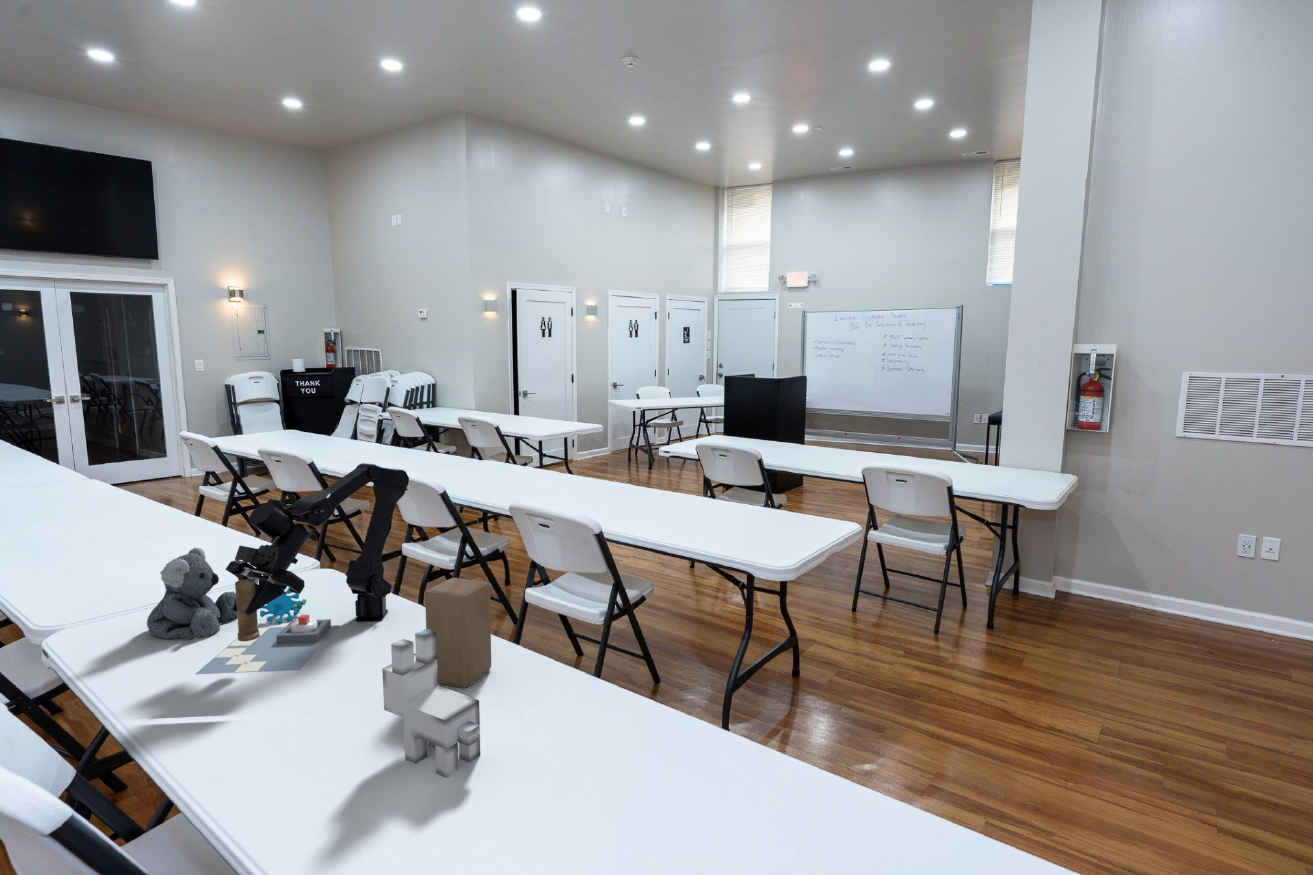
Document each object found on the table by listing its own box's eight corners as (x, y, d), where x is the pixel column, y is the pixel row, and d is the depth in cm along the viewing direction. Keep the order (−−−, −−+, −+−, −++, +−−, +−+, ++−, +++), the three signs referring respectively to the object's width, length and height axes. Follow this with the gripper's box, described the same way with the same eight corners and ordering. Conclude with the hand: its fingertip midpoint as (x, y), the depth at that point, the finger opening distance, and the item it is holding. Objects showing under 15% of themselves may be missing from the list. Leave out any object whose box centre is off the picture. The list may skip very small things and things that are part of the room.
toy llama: (458, 783, 109) (455, 665, 107) (385, 750, 118) (381, 640, 116) (491, 759, 116) (489, 647, 113) (420, 729, 124) (416, 625, 122)
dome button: (321, 628, 166) (320, 611, 165) (312, 638, 160) (311, 620, 160) (297, 629, 165) (296, 611, 165) (287, 638, 160) (286, 621, 159)
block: (493, 669, 148) (491, 581, 146) (466, 690, 139) (464, 596, 137) (454, 661, 152) (452, 575, 149) (425, 682, 142) (422, 590, 140)
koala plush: (213, 641, 161) (207, 561, 158) (129, 645, 158) (122, 564, 155) (245, 613, 178) (240, 541, 175) (169, 617, 175) (163, 543, 172)
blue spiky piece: (257, 622, 168) (258, 585, 173) (254, 632, 172) (255, 596, 177) (306, 619, 174) (306, 584, 180) (303, 629, 178) (303, 594, 183)
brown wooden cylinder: (262, 633, 148) (259, 578, 146) (254, 640, 144) (250, 584, 142) (243, 633, 147) (239, 578, 146) (234, 641, 143) (230, 585, 142)
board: (339, 628, 169) (338, 617, 169) (300, 673, 145) (299, 660, 145) (249, 631, 166) (248, 620, 166) (195, 677, 143) (194, 664, 142)
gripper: (231, 524, 150) (182, 588, 141) (289, 534, 142) (242, 602, 134) (266, 549, 158) (223, 611, 150) (323, 560, 151) (280, 626, 142)
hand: (240, 612), depth 144 cm, fingers closed on brown wooden cylinder, 4 cm apart
